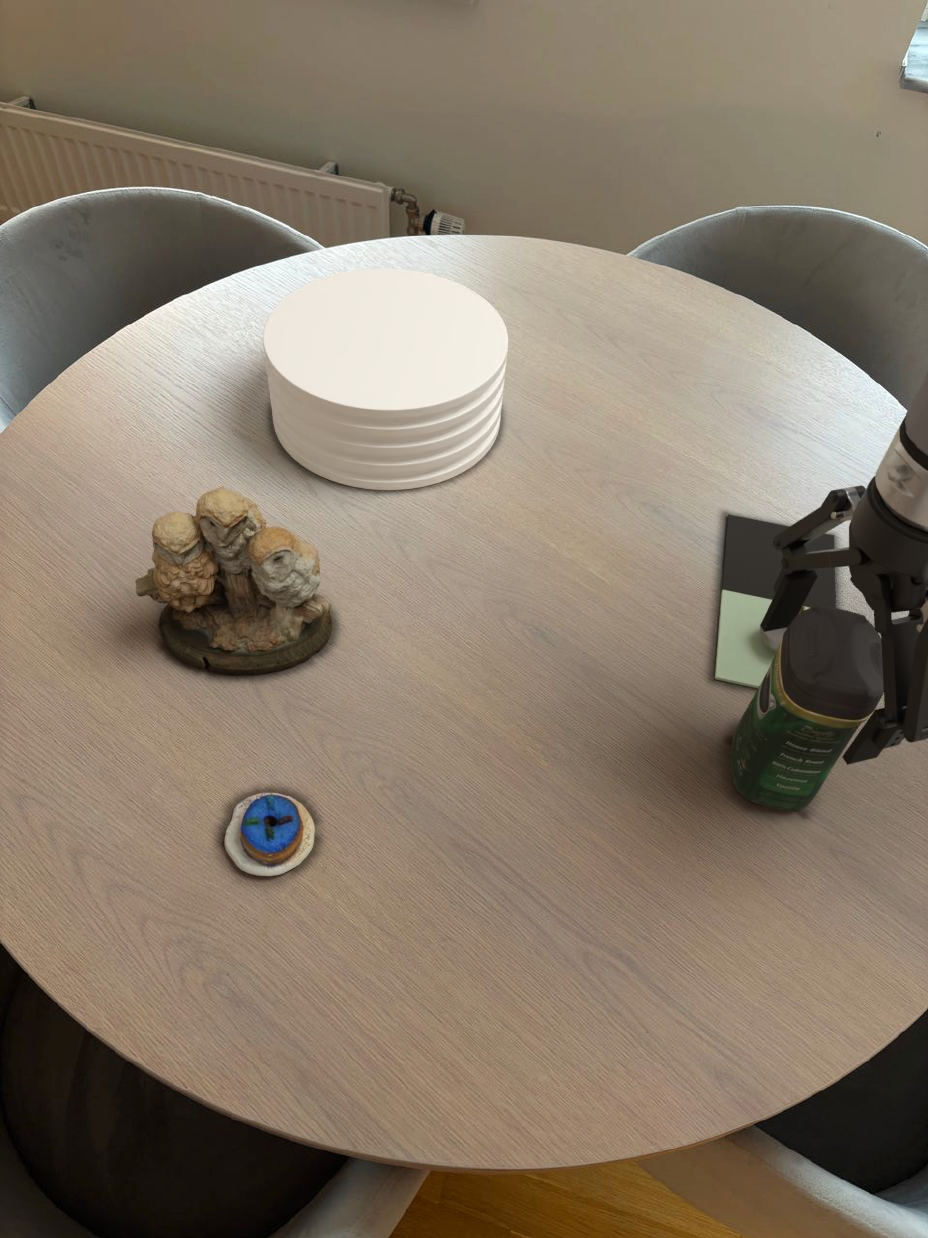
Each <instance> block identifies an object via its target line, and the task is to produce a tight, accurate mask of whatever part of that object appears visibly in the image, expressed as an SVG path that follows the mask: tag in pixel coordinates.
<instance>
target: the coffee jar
mask: <svg viewBox="0 0 928 1238" xmlns="http://www.w3.org/2000/svg"><path fill="white" fill-rule="evenodd" d="M883 696H884V686H883V665H882V645H881V634H880V633H878V632H876V630H875V627H874V624H872V623H871V622H870V621H869V620H868V619H867V617H866V615H864V614H861V613H857V612H854V611H850V610H846V609H842V608H837V607H836V608H833V607H827V606H815V607H812V608H809V609H806V610H804V611H802V612H801V613H799V614H798V615H797V616H796V617H795V618H794V619H793V620H792V622H791V623H790V625H789V626H788V628H787V629H786V631H785V632H784V634H783V636H782V639H781V641H780V644H779V646H778V649H777V651H776V654H775V656H774V659H773V661H772V663H771V665H770V667H769V669H768V671H767V673H766V675H765V677H764V679H763V680H762V682H761V684H760V686H759V688H757V690H756V691H755V693H754V695H753V697H752V699H751V700H750V702H749V704H748V705H747V707H746V709H745V711H744V712H743V714H742V716H741V717H740V720H739V721H738V723H737V725H736V727H735V729H734V734H733V737H732V741H731V752H730V769H731V771H730V772H731V779H732V782H733V785H734V787H735V789H736V790H737V791H738V793H739V794H740V795H741V796H743V797H744V798H745V799H747V800H748V801H750V802H752V803H754V804H757V805H760V806H762V807H766V808H769V809H773V810H779V811H791V812H794V811H800V810H802V809H804V808H807V807H808V806H809V805H810V804H811V803H812V802H813V800H814V799H815V797H816V795H817V794H818V793H819V792H820V789H821V788H822V786H823V784H824V783H825V781H826V780H827V778H828V776H829V774H830V773H831V771H832V770H833V768H834V766H835V765H836V763H837V761H838V759H839V758H840V756H841V755H842V754H843V752H844V751H845V749H846V747H847V746H848V744H849V742H850V741H851V739H852V738H853V736H854V735H855V734H856V732H857V730H858V729H859V728H860V726H861V725H862V724H863V723H866V722H867V721H868V719H869V718H870V716H871V715H872V713H873V712H874V711H875V710H876V709H877V706H878V705H879V703H880V701H881V699H882V697H883Z"/></svg>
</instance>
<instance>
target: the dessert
mask: <svg viewBox="0 0 928 1238" xmlns="http://www.w3.org/2000/svg"><path fill="white" fill-rule="evenodd" d="M315 831H316V829H315V822H314V820H313V817H312V816H311V814H310V812H309V811H308V810H307V808H306V807H305V806H304V805H303V804H302V803H301V802H299V801H298V800H297V799H295V798H293V797H291V795H290V796H289V795H285V794H282V793H278V792H260V793H256V794H253V795H250V796H248V797H247V798H245V799H243V800H242V801H240V802H239V803H237V804H236V806H235V807H234V809H233V812H232V816H231V819H230V822H229V824H228V825H227V827H226V830H225V835H224V841H223V842H224V848H225V851H226V853H227V854H228V856H229V857H230V858H231V860H232V861H233V862H234V864H235V866H236V867H237V868H239V869H240V870H241V871H243V872H244V873H247V874H250V875H255V876H260V877H261V876H262V877H273V876H278V875H279V876H280V875H283V874H285V873H286V872H289V871H291V870H292V869H293V868H296V867H297V866H300V864H301V863H302V862H303V861H304V860H305V859H306V858H308V856H309V854H310V852H311V851H312V850H313V848H314V844H315Z"/></svg>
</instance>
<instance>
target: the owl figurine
mask: <svg viewBox="0 0 928 1238" xmlns="http://www.w3.org/2000/svg"><path fill="white" fill-rule="evenodd" d="M262 515H263V514H262V512H261V511H260V510H259V509H258V505H257V503H256V502H255V501H254V500H253V499H251V498H249V497H246V496H243V495H242V494H241V493H238V492H236V491H235V490H233V489H228V488H227V487H225V486H220V487H217V488H214V489H211V490H209V491H207V492H205V493H203V494H202V495H201V496H200V497H199V498H198V500H197V502H196V508H195V515H193V514H191V513H190V512H181V511H172V512H169V513H166V514H164V515H163V516H162V515H161V516H160V517H158V518H157V519H156V520H155V521H154V523H153V525H152V530H151V537H152V540H151V541H152V547H153V551H152V555H151V560H152V563H153V564H154V567H152V568H151V567H150V568H149V569H147V573H146V574H145V575H144V576H142V577H138V578H136V579H135V581H134V583H135V585H136V586H135V594H136V596H138V597H145V596H148V597H150V598H151V599H152V600H153V601H154V602H156V603H159V604H164V605H165V604H166V605H165V606H164V608H163V609H162V611H161V613H160V616H159V618H158V631H159V635H160V637H161V640H162V641H163V643H164V645H165V646H166V648H167V649H168V650H169V651H170V652H171V653H172V655H174V656H175V657H176V658H178V659H179V660H180V661H182V662H184V663H186V664H188V665H192V666H195V667H196V668H199V669H202V670H203V669H204V668H205V667H206V663H205V661H204V659H203V658H205V659H206V661H207V662H208V664H209V665H208V666H207V667H208V670H210V671H211V672H215V673H217V674H225V675H226V674H227V675H259V674H265V673H271V672H277V671H282V670H285V669H288V668H289V669H290V668H292V667H294V666H297V665H299V664H300V663H303V662H306V661H308V660H309V659H310V658H311V657H312V656H313V655H315V653H316V652H320V651H322V650H323V649H324V648H325V646H326V645H327V644H328V642H329V640H330V638H331V635H332V632H333V617H332V613H331V611H330V610H331V609H332V604H331V602H330V601H329V600H327V599H326V598H324V597H321V596H320V595H318V594H316V592H317V590H318V588H319V586H321V585H320V584H321V575H320V572H321V571H320V570H321V567H320V562H321V561H320V557H319V551H318V550H317V548H316V547H315V546H314V545H313V544H311V543H310V542H306V541H303V540H302V539H301V538H300V536H298V535H297V534H293V533H292V532H291V531H290V530H288V529H287V528H286V527H285V528H284V527H280V526H268V527H267V521H266V518H264V517H263V516H262Z"/></svg>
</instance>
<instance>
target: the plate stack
mask: <svg viewBox="0 0 928 1238" xmlns="http://www.w3.org/2000/svg"><path fill="white" fill-rule="evenodd" d="M262 342H263V343H262V344H263V351H264V357H265V359H264V360H265V367H266V373H267V383H268V390H269V401H270V407H271V414H272V424H273V429H274V432H275V434H276V437H277V439H278V441H279V443H280V444H281V446H282V447H283V449H284V450H285V451H286V452H287V454H288V455H289V456H290V457H291V458H292V459H293V460H295V462H297V463H298V464H299V465H300V466H302V467H304V468H305V469H307V470H308V471H310V472H311V473H313V474H316V475H317V476H320V477H322V478H324V479H327V480H329V481H331V482H335V483H338V484H341V485H345V486H349V487H354V488H359V489H364V490H373V491H374V490H375V491H402V490H411V489H419V488H423V487H429V486H432V485H436V484H439V483H441V482H445V481H448V480H451V479H453V478H455V477H458V476H459V475H461V474H462V473H464V472H466V471H468V470H469V469H471V468H472V467H473V466H475V465H476V464H477V463H478V462H480V461H481V460H482V459H483V458H484V457H485V456H486V455H487V454H488V452H489V451H490V450H491V449H492V447H493V445H494V443H495V442H496V439H497V437H498V434H499V431H500V425H501V418H502V417H501V416H502V407H503V399H504V398H503V396H504V387H505V376H506V369H507V358H508V352H509V351H508V350H509V334H508V329H507V327H506V324H505V322H504V320H503V318H502V316H501V315H500V313H499V312H498V311H497V309H496V308H494V306H493V305H492V304H491V303H489V301H487V299H485V298H484V297H483V296H481V295H480V294H478V293H477V292H475V291H474V290H473V289H470V288H468V287H467V286H465V285H463V284H461V283H459V282H456V281H453V280H451V279H449V278H446V277H442V276H439V275H436V274H432V273H427V272H422V271H417V270H412V269H411V270H410V269H402V268H391V267H390V268H389V267H388V268H386V267H385V268H383V267H381V268H380V267H378V268H377V267H376V268H362V269H353V270H347V271H341V272H337V273H332V274H329V275H326V276H323V277H319V278H317V279H314V280H311V281H310V282H307V283H305V284H303V285H301V286H299V287H297V288H296V289H294V290H293V291H291V292H290V293H287V295H286V296H284V297H283V298H282V299H281V300H279V302H278V303H277V304H276V305H275V306H274V307H273V309H272V310H271V312H270V313H269V315H268V317H267V318H266V321H265V324H264V327H263V332H262Z"/></svg>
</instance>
